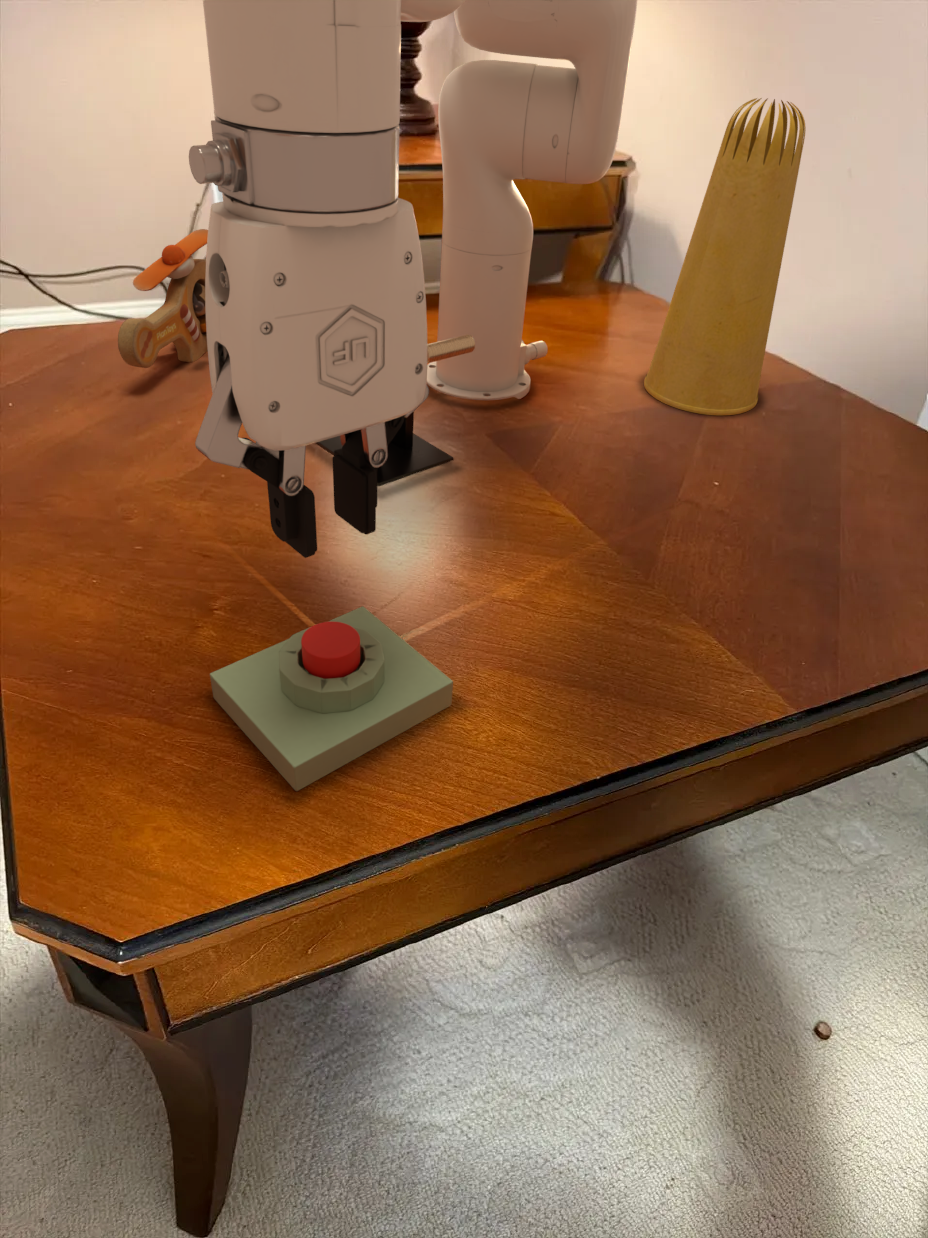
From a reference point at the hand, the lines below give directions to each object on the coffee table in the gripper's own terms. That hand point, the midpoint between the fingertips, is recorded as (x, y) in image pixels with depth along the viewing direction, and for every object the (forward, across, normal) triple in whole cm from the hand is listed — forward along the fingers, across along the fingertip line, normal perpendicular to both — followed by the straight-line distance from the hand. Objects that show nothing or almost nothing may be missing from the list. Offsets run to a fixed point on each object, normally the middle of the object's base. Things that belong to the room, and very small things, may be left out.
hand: (326, 531), depth 47 cm
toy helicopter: (+13, +18, +56) cm, 60 cm away
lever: (+3, +23, +21) cm, 31 cm away
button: (+10, 0, 0) cm, 10 cm away
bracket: (+13, +23, +26) cm, 37 cm away
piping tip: (+13, +65, +18) cm, 69 cm away
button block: (+13, 0, 0) cm, 13 cm away
